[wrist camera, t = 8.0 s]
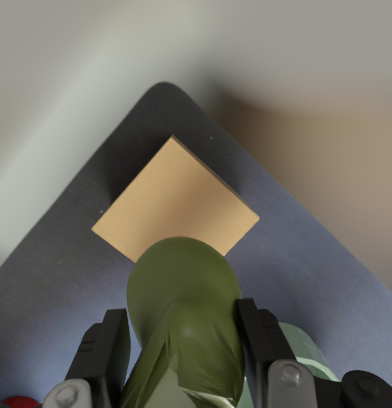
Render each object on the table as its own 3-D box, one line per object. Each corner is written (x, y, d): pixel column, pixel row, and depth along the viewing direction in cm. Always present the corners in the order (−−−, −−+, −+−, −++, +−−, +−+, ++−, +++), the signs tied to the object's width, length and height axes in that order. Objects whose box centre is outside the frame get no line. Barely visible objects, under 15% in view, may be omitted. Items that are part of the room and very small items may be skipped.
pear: (198, 320, 19) (222, 524, 9) (118, 287, 18) (54, 477, 8) (241, 244, 18) (320, 387, 8) (159, 206, 17) (139, 316, 7)
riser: (111, 204, 33) (90, 229, 25) (172, 133, 31) (171, 136, 24) (180, 260, 35) (181, 299, 27) (241, 196, 33) (260, 218, 26)
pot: (196, 344, 38) (199, 383, 32) (304, 305, 37) (327, 338, 32) (231, 425, 41) (240, 474, 36) (330, 391, 41) (356, 435, 35)
